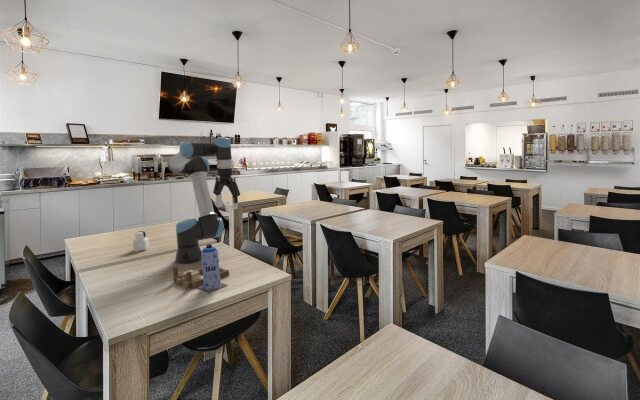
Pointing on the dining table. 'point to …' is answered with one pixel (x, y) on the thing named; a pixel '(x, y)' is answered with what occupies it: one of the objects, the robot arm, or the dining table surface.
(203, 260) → the aerosol can
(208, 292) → the mat
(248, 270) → the dining table surface
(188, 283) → the rack
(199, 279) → the offcut low
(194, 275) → the offcut top
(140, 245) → the medicine bottle
